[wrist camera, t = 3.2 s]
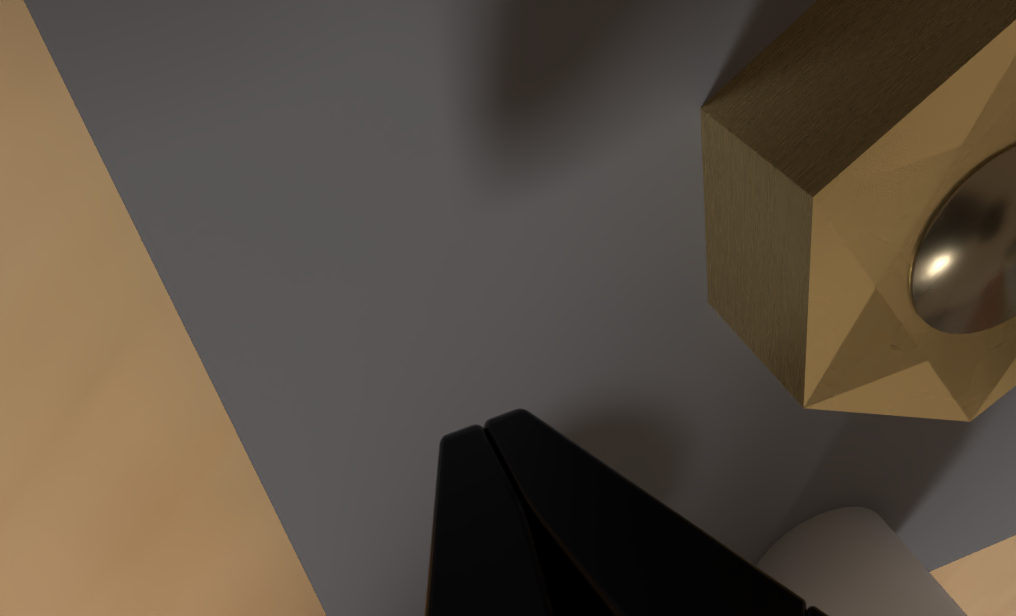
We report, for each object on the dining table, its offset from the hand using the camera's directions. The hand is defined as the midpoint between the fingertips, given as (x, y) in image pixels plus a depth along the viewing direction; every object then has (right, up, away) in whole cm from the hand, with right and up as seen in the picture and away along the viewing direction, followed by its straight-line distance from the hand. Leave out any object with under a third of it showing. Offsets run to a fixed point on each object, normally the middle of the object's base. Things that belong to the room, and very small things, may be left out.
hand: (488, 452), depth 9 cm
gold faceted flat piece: (+5, +3, +3) cm, 6 cm away
